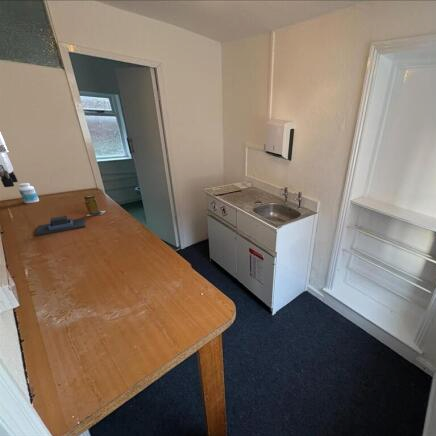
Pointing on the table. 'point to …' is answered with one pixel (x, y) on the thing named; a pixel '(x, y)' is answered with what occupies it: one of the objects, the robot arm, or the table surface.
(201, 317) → the table surface
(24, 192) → the pill bottle
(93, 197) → the condiment
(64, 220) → the dark grey block
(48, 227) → the base pad
